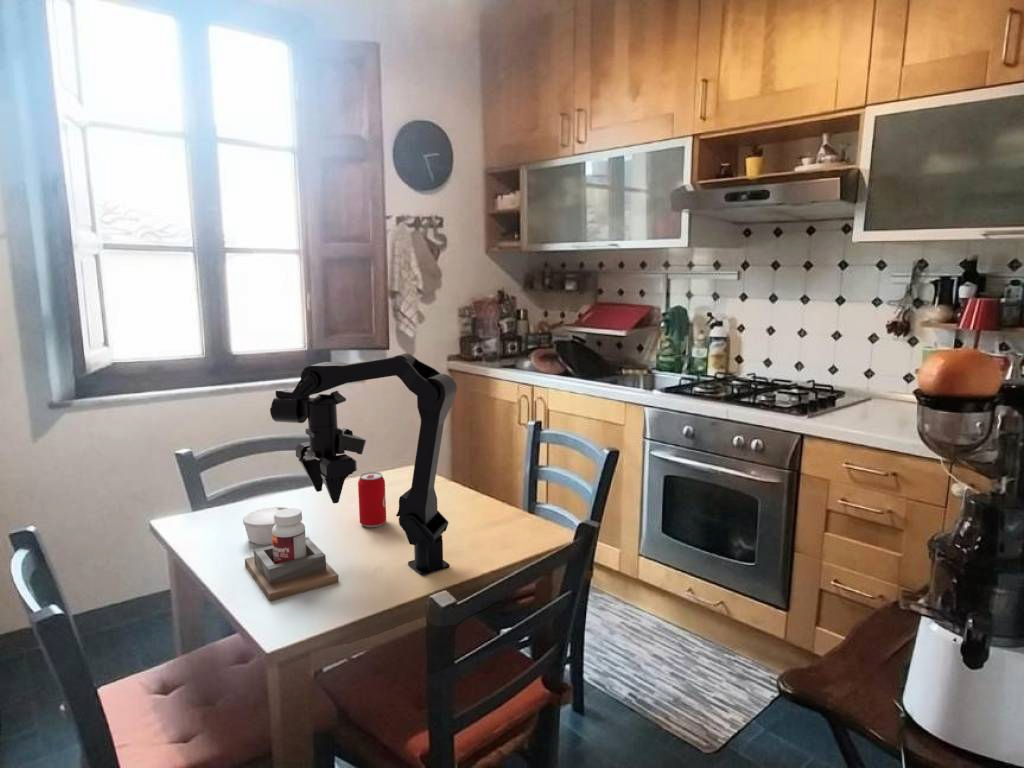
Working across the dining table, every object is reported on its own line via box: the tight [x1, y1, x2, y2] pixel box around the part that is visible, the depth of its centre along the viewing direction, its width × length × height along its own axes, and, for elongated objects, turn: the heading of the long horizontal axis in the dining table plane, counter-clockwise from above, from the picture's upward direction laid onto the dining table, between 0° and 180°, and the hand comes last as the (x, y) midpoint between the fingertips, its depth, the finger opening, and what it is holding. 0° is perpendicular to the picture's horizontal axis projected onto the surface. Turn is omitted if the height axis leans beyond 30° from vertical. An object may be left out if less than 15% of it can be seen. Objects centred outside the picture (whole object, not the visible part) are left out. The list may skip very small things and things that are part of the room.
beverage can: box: [357, 471, 387, 528], centre depth 154 cm, size 6×6×12 cm
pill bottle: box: [272, 507, 306, 564], centre depth 128 cm, size 6×6×11 cm
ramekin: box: [242, 506, 288, 546], centre depth 147 cm, size 11×11×5 cm
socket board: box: [244, 536, 340, 602], centre depth 129 cm, size 18×13×4 cm
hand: (327, 497), depth 136 cm, fingers open, 9 cm apart
